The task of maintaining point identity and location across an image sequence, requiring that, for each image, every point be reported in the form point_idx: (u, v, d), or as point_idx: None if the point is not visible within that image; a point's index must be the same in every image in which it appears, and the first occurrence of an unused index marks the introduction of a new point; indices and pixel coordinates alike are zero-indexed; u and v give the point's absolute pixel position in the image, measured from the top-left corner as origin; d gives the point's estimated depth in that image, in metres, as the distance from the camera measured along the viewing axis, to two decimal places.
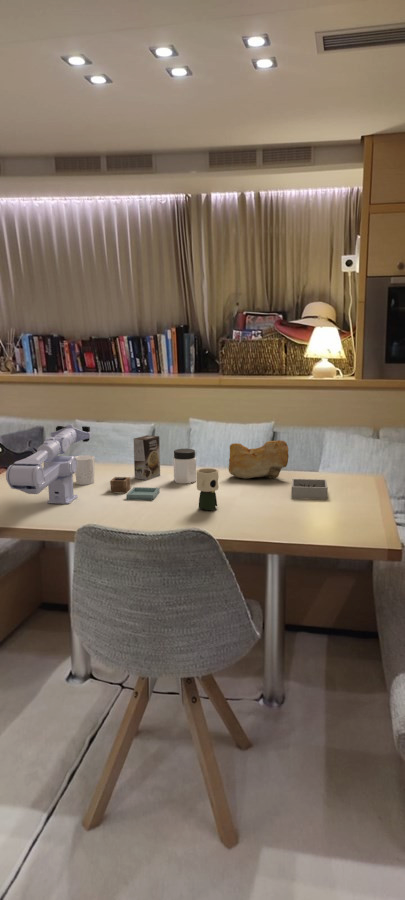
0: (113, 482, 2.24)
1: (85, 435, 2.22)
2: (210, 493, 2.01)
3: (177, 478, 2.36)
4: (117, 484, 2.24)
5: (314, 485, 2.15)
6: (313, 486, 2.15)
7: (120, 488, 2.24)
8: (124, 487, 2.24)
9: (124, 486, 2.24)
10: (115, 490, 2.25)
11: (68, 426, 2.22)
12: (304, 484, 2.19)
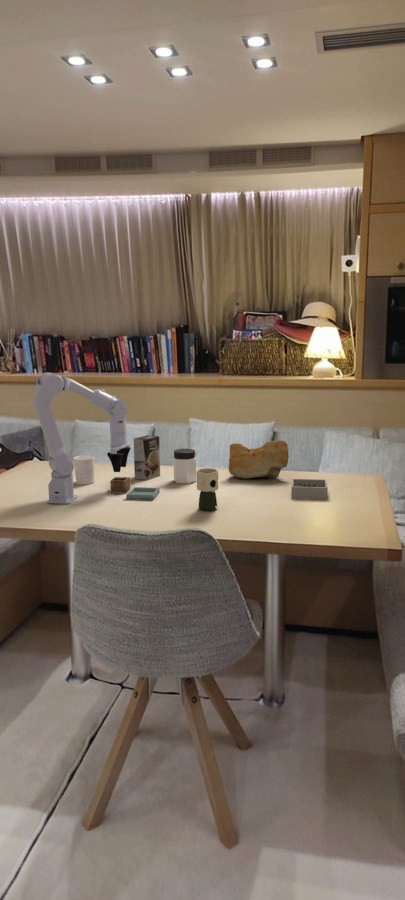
0: (113, 482, 2.24)
1: (114, 447, 2.19)
2: (209, 493, 2.01)
3: (177, 478, 2.36)
4: (117, 484, 2.24)
5: (314, 485, 2.15)
6: (313, 486, 2.16)
7: (120, 488, 2.24)
8: (124, 487, 2.24)
9: (124, 486, 2.24)
10: (115, 490, 2.25)
11: (127, 444, 2.24)
12: (304, 484, 2.20)
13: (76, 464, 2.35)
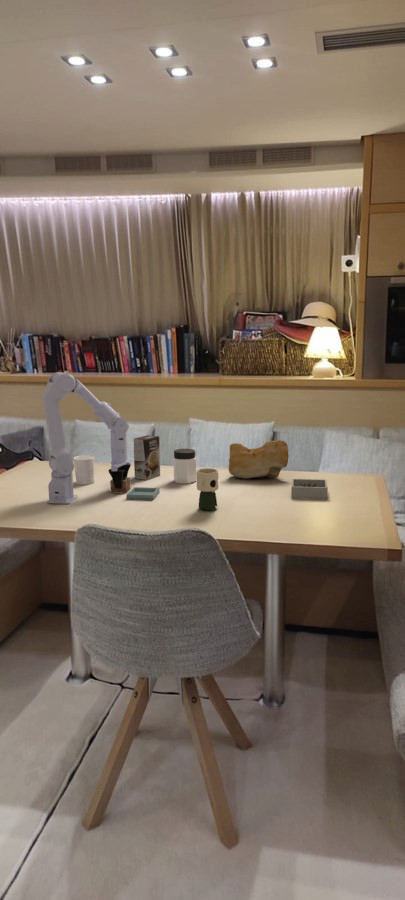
0: None
1: (115, 464, 2.20)
2: (209, 493, 2.01)
3: (177, 478, 2.36)
4: None
5: (314, 484, 2.16)
6: None
7: None
8: (124, 487, 2.24)
9: (124, 486, 2.24)
10: (115, 490, 2.25)
11: (128, 461, 2.25)
12: None
13: (76, 464, 2.35)
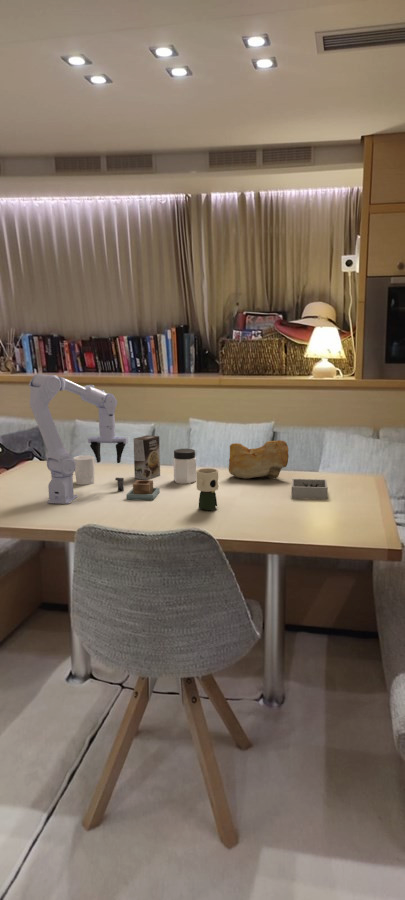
0: (149, 485, 2.17)
1: (122, 437, 2.27)
2: (209, 493, 2.01)
3: (177, 478, 2.36)
4: (151, 486, 2.19)
5: (317, 484, 2.16)
6: (316, 485, 2.16)
7: (151, 489, 2.20)
8: (152, 487, 2.22)
9: (152, 486, 2.21)
10: (150, 493, 2.19)
11: None
12: None
13: (76, 464, 2.35)
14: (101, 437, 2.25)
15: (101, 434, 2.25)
